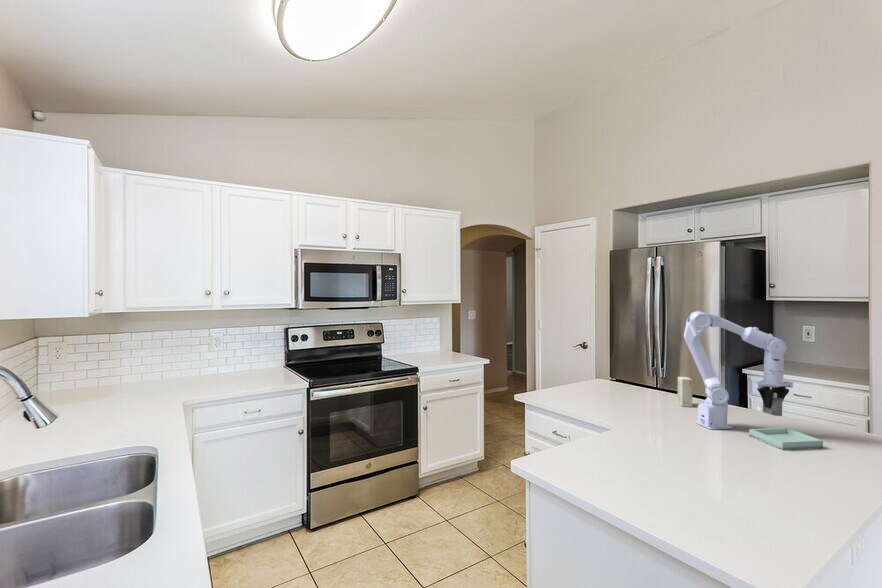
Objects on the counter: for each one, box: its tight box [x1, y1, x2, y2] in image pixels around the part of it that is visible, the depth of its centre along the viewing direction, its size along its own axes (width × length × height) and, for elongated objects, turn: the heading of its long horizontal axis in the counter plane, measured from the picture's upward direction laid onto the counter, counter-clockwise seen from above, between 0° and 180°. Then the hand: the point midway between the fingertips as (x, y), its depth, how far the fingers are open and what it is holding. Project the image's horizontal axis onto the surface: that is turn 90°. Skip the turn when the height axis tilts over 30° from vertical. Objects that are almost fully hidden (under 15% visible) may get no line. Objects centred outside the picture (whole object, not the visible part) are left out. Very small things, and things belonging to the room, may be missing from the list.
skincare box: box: [676, 376, 693, 408], centre depth 194 cm, size 6×4×12 cm
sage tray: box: [748, 427, 824, 451], centre depth 149 cm, size 15×13×2 cm
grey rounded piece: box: [762, 393, 784, 417], centre depth 159 cm, size 4×6×8 cm, turn 8°
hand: (772, 407), depth 159 cm, fingers closed on grey rounded piece, 3 cm apart
